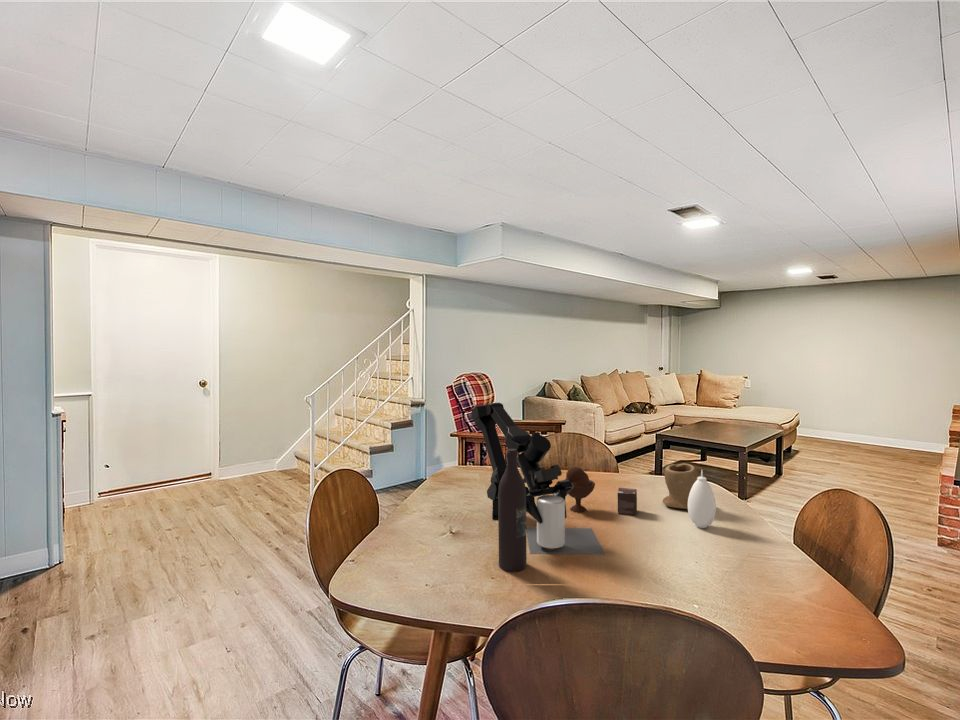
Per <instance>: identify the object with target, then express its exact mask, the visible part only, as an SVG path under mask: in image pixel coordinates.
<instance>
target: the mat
mask: <svg viewBox="0 0 960 720" xmlns="http://www.w3.org/2000/svg"><path fill="white" fill-rule="evenodd" d="M526 539H527V543H528V544H527V545H528V548H529V554H530V555H606V553H605V551H604V549H603V547H602V546H601V543H600V541H599V539H598V538H597V536H596V534H595V532H594V531H593V527H592V528H591V527H581V528H580V527H578V528H577V527H575V528H570V527H568V528H567V527H565V544H564V545H563V546H562V547H559V548H557V549H555V550H548V549H546V548H545V547H542V546H540V545H538V543H537V527H526Z"/></svg>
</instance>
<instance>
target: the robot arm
mask: <svg viewBox="0 0 960 720" xmlns="http://www.w3.org/2000/svg"><path fill="white" fill-rule="evenodd" d="M471 418H472V419H473V422H474V424H475V426H476V427H477V428H478V429H479V430H480V431H481V432H482V435H483V437H482V438H483V440H484V443H485V447H486V451H487V455H488V457H489V461H490V465H491V468H492V473H491V476H490V485H489V487H488V488H487V490H486V494H487V498H488V499H490V500H491V501H492V511H491V512H492V513H491V515H492V517H491V518H492V519H493V520H498V490H499V484H500V481H501V478H502V476H503V475H504V472H505V470H506V467H507V460H506V459H505V454H504V451H503V448H502V445H501V441H500V438H499V434H498V432H497V427H498V428H499V430H500V431H501V433H502V434H503V436H504V437H505V439H504V440H505V441H504V444H505V446H506V448H507V449H517V451H518V454H519V455H518V456H517V467H518V466H519V469H520V471H521V475H522V477H523V480H524V483H525V484H526V485H527V486H526V485H525V487H526V513H528V514H529V515H530V516H531V517H532V518H533V519H534V520H535V521H536V522H537V521H538V522H539V523H540V524H541V523H542V522H543V521H542V518H541V515H540V513H539V511H538V508H537V503H536V499H535V498H536V497H537V498H538V497H540V496H544V495H554V496H559V497H562V498H563V499H564V500H565V501H566V498H567V496H568V495H569V494H568V493H569V492H570V491H571V490H572V489H573V485H572V483H571V481H569V480H565V479H563V480H559V477H560V476H562V470H561V467H560V466H559V464H554V465H551V466H550V467H549V468H545V467H541V464H540V463H541V462H542V461H543V459H544V457H545V456H547V454H548V452H550V449H551V446H552V445H551V441H550V440H549V439H548V438H547V437H545V436H544V435H541V433H540V432H539V431H537V432H533V433H532V434H530V433H529V432H528V431H526V430H525V429H524V428H520V426H518V425H517V424H516V422H515V421H514V420H513V419H512V417H511V416H510V414H509V413H508V412H507V410H505V408H504V404H503V403H502V402H490V403H487V404H479V405H474V407H473V408H472V409H471ZM496 426H497V427H496ZM507 449H506V450H507ZM554 480H556V481H557V480H558V481H557V482H556V483H555V485H553V481H554ZM550 485H553V486H550ZM566 505H567V504H566V503H565V519H566V518H567V517H568V516H567V507H566Z"/></svg>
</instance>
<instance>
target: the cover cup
mask: <svg viewBox="0 0 960 720" xmlns="http://www.w3.org/2000/svg"><path fill="white" fill-rule="evenodd" d="M565 504H566V499H565V500H564V499H563V498H562V497H559V496H554V495H553V494H548V495H542V496H537V498H536V506H537V508H538V511H539V513H540V515H541V518H542V521H543V522H542V523H541V524H540V523H539V522H538V521H537V520H536V528H537V543H538V545H540V546H542V547H546V548H559V547H562V546H563V545H564V544H565V528H566V518H565Z"/></svg>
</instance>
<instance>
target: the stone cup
mask: <svg viewBox="0 0 960 720" xmlns="http://www.w3.org/2000/svg"><path fill="white" fill-rule="evenodd" d="M698 474H699V473H698V471H697V468H696V467H695V466H694V465H692V464H689V463H686V462H685V463H684V462H683V463H679V464H676V463H671V464H669V465H667V466H666V467H665V468H664V480H665V481H664V482H665V484H666V486H667V489H668V495H667V496H665V497H664V498H663V499H662V504H663V505H664V506H665V507H669V508H676V509H683V510H688V497H689V494H690V491H691V488H692V486H693V484H694V483H695V482H696V481H697V477H699V475H698Z"/></svg>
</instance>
